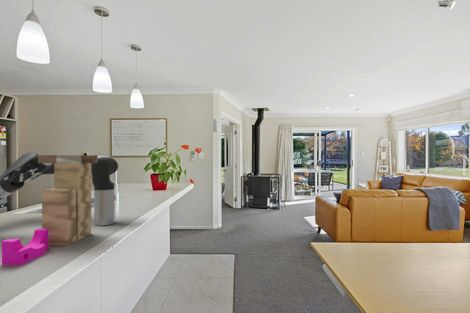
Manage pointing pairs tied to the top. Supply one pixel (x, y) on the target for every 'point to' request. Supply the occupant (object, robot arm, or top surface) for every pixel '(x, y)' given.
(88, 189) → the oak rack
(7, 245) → the toy block
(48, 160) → the walnut bar
